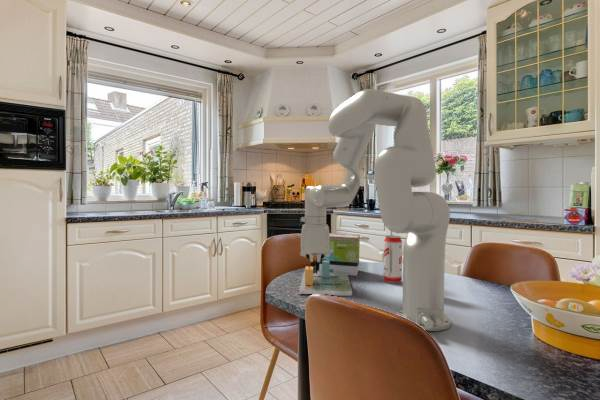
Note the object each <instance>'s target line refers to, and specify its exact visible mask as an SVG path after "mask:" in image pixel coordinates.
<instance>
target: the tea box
mask: <svg viewBox="0 0 600 400" xmlns="http://www.w3.org/2000/svg"><path fill="white" fill-rule="evenodd" d="M329 235H330V256H329V257H324V258H323V259H322V260H321V261H320V262H319V271H318V272H322V261H329V262H330V272H347V274H348V276H354V277H357V276H358V272H359V270H360V248H361V246H360V241H361V237H360V234H353V233H352V234H351V233H350V234H349V233H333V232H329Z"/></svg>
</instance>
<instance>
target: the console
mask: <svg viewBox="0 0 600 400" xmlns="http://www.w3.org/2000/svg"><path fill="white" fill-rule="evenodd" d="M352 289H353V288H352V284H351V282H350V278H349V275H348V274H347V272H330V278H322V272H319V271H317V274H316V273H314V274H313V285H305V270H304V271H303V274H302V278H301V283H300V286H299V290H298V293H299V294H313V293H322V294H328V295H327V296H330V295H334V297H338V296H339V297H353V290H352Z"/></svg>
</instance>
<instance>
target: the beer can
mask: <svg viewBox="0 0 600 400" xmlns="http://www.w3.org/2000/svg"><path fill="white" fill-rule="evenodd" d="M382 277H383V281H384V282H385V283H387V284H394V285H395V284H400V283H401V282H403V241H402V238H401V236H400V235H393V234H392V235H389V234H388V235H385V239H384V240H383V276H382Z"/></svg>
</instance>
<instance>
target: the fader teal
mask: <svg viewBox="0 0 600 400" xmlns="http://www.w3.org/2000/svg"><path fill="white" fill-rule="evenodd" d="M322 278H330V262H329V261H322Z"/></svg>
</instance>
